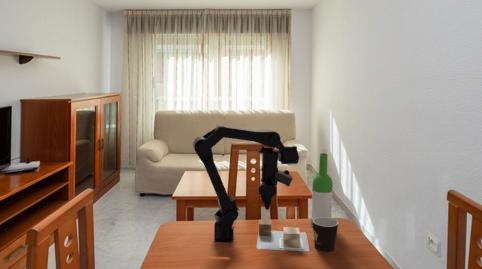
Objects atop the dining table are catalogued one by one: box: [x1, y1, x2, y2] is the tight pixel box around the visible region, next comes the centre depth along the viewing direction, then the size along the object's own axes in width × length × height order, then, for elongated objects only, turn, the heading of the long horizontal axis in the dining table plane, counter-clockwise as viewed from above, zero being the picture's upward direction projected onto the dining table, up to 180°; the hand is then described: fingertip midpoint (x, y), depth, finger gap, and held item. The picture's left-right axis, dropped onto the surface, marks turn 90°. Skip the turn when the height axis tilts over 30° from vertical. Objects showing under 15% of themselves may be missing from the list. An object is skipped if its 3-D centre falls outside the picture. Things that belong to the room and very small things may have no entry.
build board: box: [256, 230, 311, 252], centre depth 129 cm, size 18×16×1 cm
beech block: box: [282, 226, 301, 248], centre depth 125 cm, size 6×6×5 cm
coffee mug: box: [312, 217, 339, 253], centre depth 124 cm, size 12×9×10 cm
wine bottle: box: [310, 152, 334, 228], centre depth 140 cm, size 8×8×30 cm
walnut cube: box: [258, 219, 272, 236], centre depth 134 cm, size 4×4×4 cm
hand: (268, 205), depth 132 cm, fingers open, 9 cm apart
